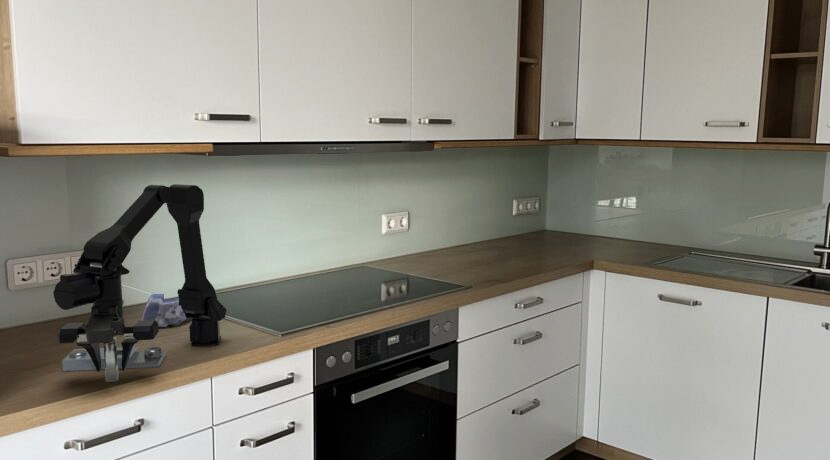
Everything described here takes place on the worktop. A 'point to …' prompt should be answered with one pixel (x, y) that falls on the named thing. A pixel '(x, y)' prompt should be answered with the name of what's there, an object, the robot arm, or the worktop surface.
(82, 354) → the grey bolted bracket plate
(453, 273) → the worktop surface
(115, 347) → the pin
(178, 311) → the mineral
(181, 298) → the robot arm
